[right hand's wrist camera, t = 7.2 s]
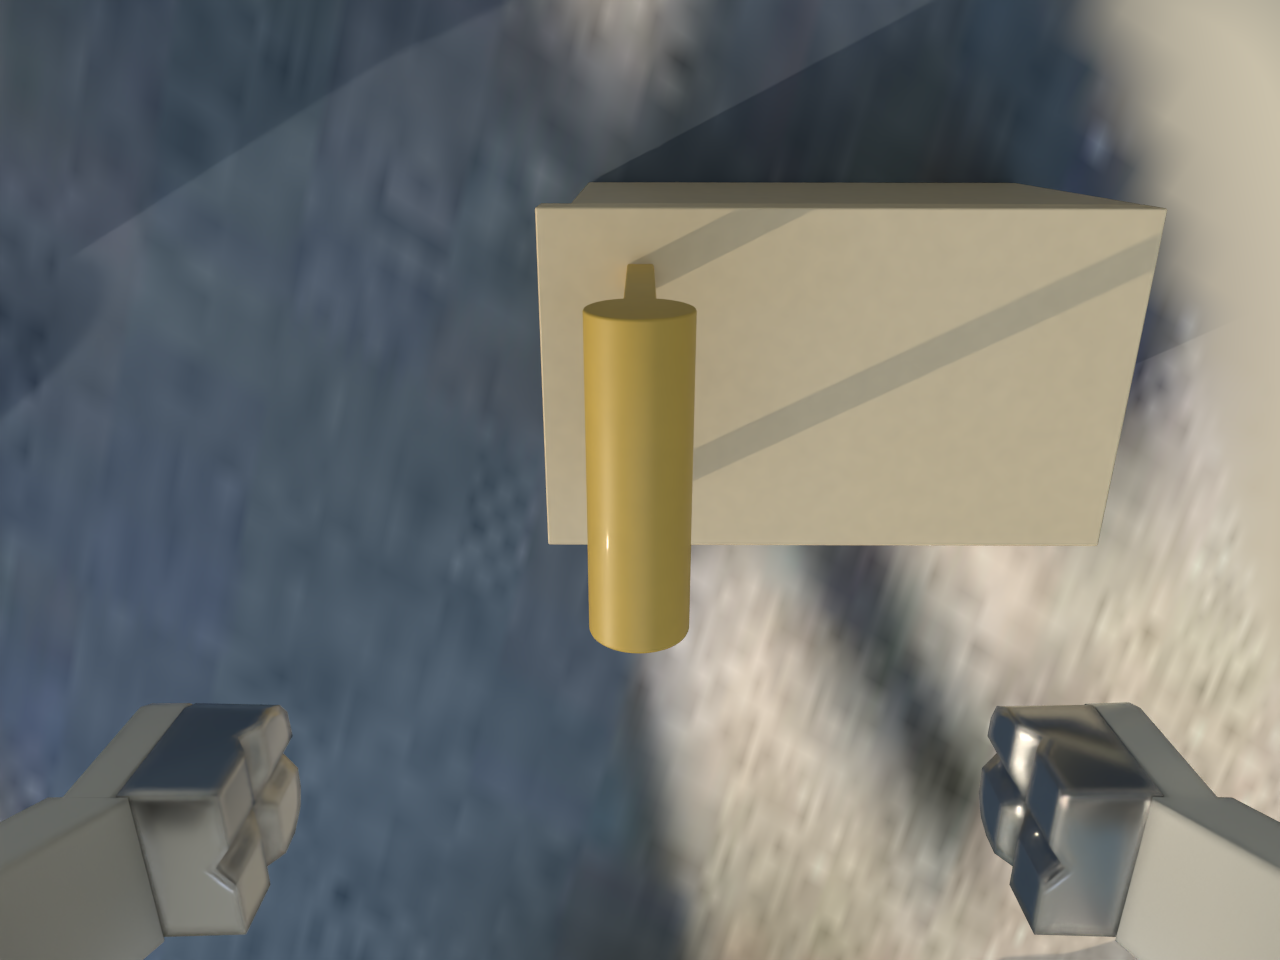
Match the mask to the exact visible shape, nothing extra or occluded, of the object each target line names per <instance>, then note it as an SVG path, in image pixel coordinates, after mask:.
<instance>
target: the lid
mask: <svg viewBox="0 0 1280 960" xmlns="http://www.w3.org/2000/svg"><path fill="white" fill-rule="evenodd" d="M1166 214H1167V209H1166V208H1161V207H1155V206H1149V205H1019V204H540V205H538V206H537V207H536V208H535V216H536V242H537V267H538V293H539V318H540V343H541V369H542V394H543V420H544V445H545V470H546V496H547V521H548V543H549V544H588V584H589V628H590V632H591V633H592V635H593V637H594V638H595V639H596V640H597V641H598V642H599V643H601V644H602V645H604V646H606V647H608V648H611V649H614V650H617V651H622V652H628V653H651V652H657V651H661V650H665V649H668V648H670V647H672V646H674V645H676V644H678V643H679V642H680V641H682V640H683V639H684V637H685V636H686V634H687V632H688V630H689V605H690V565H691V545H999V546H1097V545H1098V541H1099V536H1100V531H1101V526H1102V521H1103V517H1104V512H1105V507H1106V502H1107V497H1108V493H1109V488H1110V483H1111V478H1112V473H1113V469H1114V464H1115V459H1116V454H1117V449H1118V445H1119V440H1120V435H1121V430H1122V425H1123V421H1124V416H1125V411H1126V406H1127V401H1128V397H1129V392H1130V387H1131V382H1132V377H1133V373H1134V368H1135V363H1136V358H1137V353H1138V349H1139V344H1140V339H1141V334H1142V329H1143V324H1144V320H1145V315H1146V310H1147V305H1148V300H1149V296H1150V291H1151V286H1152V281H1153V276H1154V272H1155V267H1156V262H1157V257H1158V252H1159V248H1160V243H1161V238H1162V233H1163V228H1164V224H1165V219H1166Z"/></svg>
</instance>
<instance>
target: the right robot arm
mask: <svg viewBox="0 0 1280 960" xmlns="http://www.w3.org/2000/svg"><path fill="white" fill-rule="evenodd" d="M291 738H292V732H291V727H290V722H289V718H288V713H287V711H286V710H285V709H283V708H282V707H281V706H280V705H254V704H207V703H195V704H190V703H151V704H148V705H146V706H143V707H140V708H139V709H138V710H137V712H136V713H135V714H134V715H133V716H132V717H131V719H130V720H129V721H128V722H127V723H126V724H125V726H124V727H123V728H122V729H121V730H120V731H119V732H118V734H117V735H116V736H115V737H114V738H113V739H112V741H111V742H110V743H109V744H108V745H107V746H106V748H105V749H104V750H103V751H102V752H101V753H100V755H99V756H98V757H97V758H96V759H95V760H94V761H93V763H92V764H91V765H90V766H89V767H88V768H87V770H86V771H85V772H84V773H83V774H82V775H81V777H80V778H79V779H78V780H77V781H76V782H75V784H74V785H73V786H72V787H71V788H70V789H69V790H68V792H67V793H66V794H65V795H64V796H63V797H60V798H46V799H44V800H42V801H41V802H39V803H37V804H35V805H33V806H31V807H29V808H27V809H25V810H23V811H21V812H19V813H17V814H15V815H13V816H12V817H10V818H8V819H6V820H4V821H2V822H0V960H143V959H144V958H145V957H147V956H148V955H149V954H150V953H151V952H152V951H154V950H155V949H156V948H157V947H158V946H159V945H161V944H162V943H163V942H164V937H172V936H206V935H241V934H246V933H247V931H248V929H249V927H250V925H251V923H252V921H253V919H254V917H255V915H256V913H257V911H258V909H259V907H260V905H261V903H262V901H263V898H264V896H265V894H266V892H267V890H268V888H269V886H270V880H269V874H268V869H267V866H268V865H270V864H271V863H272V862H274V861H275V860H277V859H278V858H279V857H281V856H282V855H283V854H285V853H286V851H287V849H288V847H289V845H290V842H291V840H292V838H293V836H294V834H295V830H296V825H297V821H298V816H299V811H300V805H301V785H300V779H299V772H298V768H297V767H296V766H295V765H294V764H293V763H292V762H291V761H290V760H289V759H288V758H287V757H286V756H285V755H284V754H283V752H284V750H285V748H286V747H287V745H288V743H289V741H290V739H291ZM988 738H989V739H990V741H991V743H992V745H993V747H994V748H995V750H996V752H997V754H996V755H995V756H994V757H993V758H992V759H991V760H990V761H989V762H988V763H987V764H986V765H985V766H984V767H983V768H982V773H981V781H980V788H979V799H980V811H981V819H982V822H983V826H984V829H985V833H986V836H987V838H988V840H989V842H990V845H991V847H992V849H993V851H994V853H995V854H997V855H998V856H999V857H1001V858H1002V859H1003V860H1005V861H1006V862H1008V863H1009V864H1010V865H1012V866H1013V869H1012V874H1011V880H1010V886H1011V888H1012V890H1013V892H1014V894H1015V896H1016V898H1017V900H1018V902H1019V904H1020V907H1021V909H1022V911H1023V913H1024V915H1025V917H1026V919H1027V921H1028V923H1029V925H1030V927H1031V929H1032V931H1033V933H1034V934H1037V935H1072V936H1108V937H1116V940H1115V941H1116V942H1118V943H1119V944H1120V945H1121V946H1122V947H1123V948H1125V949H1126V950H1127V951H1128V952H1129V953H1130V954H1132V955H1133V956H1134V957H1135V958H1136V959H1137V960H1280V822H1278V821H1276V820H1274V819H1272V818H1270V817H1268V816H1266V815H1265V814H1263V813H1261V812H1259V811H1257V810H1255V809H1253V808H1251V807H1249V806H1247V805H1245V804H1243V803H1241V802H1239V801H1238V800H1236V799H1234V798H1220V797H1217V796H1216V795H1215V794H1214V793H1213V792H1212V790H1211V789H1210V788H1209V787H1208V786H1207V785H1206V784H1205V782H1204V781H1203V780H1202V779H1201V778H1200V777H1199V775H1198V774H1197V773H1196V772H1195V771H1194V770H1193V768H1192V767H1191V766H1190V765H1189V764H1188V763H1187V762H1186V760H1185V759H1184V758H1183V757H1182V756H1181V755H1180V753H1179V752H1178V751H1177V750H1176V749H1175V748H1174V746H1173V745H1172V744H1171V743H1170V742H1169V741H1168V740H1167V738H1166V737H1165V736H1164V735H1163V734H1162V733H1161V731H1160V730H1159V729H1158V728H1157V727H1156V726H1155V724H1154V723H1153V722H1152V721H1151V720H1150V719H1149V717H1148V716H1147V715H1146V714H1145V713H1144V712H1143V711H1142V709H1141V708H1139V707H1137V706H1135V705H1133V704H1131V703H1098V704H1085V705H1048V706H997V707H996V709H995V711H994V713H993V715H992V717H991V721H990V726H989V731H988Z"/></svg>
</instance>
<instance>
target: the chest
mask: <svg viewBox="0 0 1280 960" xmlns="http://www.w3.org/2000/svg"><path fill="white" fill-rule="evenodd" d="M571 204H1019V205H1140V204H1136V203H1130V202H1124V201H1118V200H1112V199H1106V198H1100V197H1094V196H1088V195H1082V194H1076V193H1071V192H1065V191H1059V190H1053V189H1047V188H1041V187H1035V186H1029V185H1023V184H1018V183H743V182H589V183H588V184H587V186H586V187H585V188H584V189H583V190H582V191H581V193H580V194H579V195H578V196H577V197H576V198H575V200H574V201H573V202H572V203H571Z"/></svg>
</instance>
